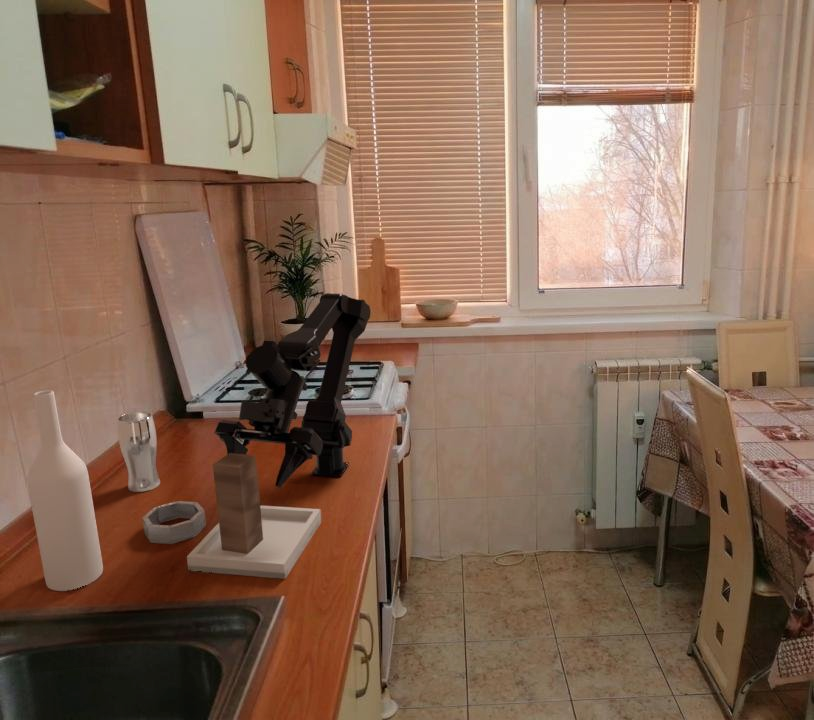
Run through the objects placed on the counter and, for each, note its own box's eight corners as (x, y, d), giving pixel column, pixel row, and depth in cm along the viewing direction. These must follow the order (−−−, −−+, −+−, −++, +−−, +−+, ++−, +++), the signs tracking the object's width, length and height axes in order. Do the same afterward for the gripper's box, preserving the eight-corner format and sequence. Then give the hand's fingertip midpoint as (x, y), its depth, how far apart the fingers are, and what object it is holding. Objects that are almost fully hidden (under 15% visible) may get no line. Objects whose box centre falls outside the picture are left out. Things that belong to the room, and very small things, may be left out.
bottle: (36, 593, 98) (-1, 402, 90) (59, 564, 106) (28, 386, 98) (91, 590, 98) (60, 399, 91) (111, 560, 106) (83, 383, 99)
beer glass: (121, 485, 134) (111, 416, 131) (155, 475, 139) (146, 408, 135) (132, 496, 129) (122, 424, 125) (167, 486, 133) (158, 416, 130)
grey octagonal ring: (165, 514, 121) (163, 500, 120) (213, 518, 119) (211, 503, 119) (135, 541, 112) (133, 525, 111) (186, 545, 110) (184, 529, 110)
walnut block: (238, 535, 111) (230, 452, 107) (263, 539, 109) (255, 455, 106) (222, 549, 107) (212, 464, 103) (247, 554, 105) (239, 467, 101)
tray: (237, 516, 120) (236, 503, 119) (321, 521, 117) (320, 509, 116) (188, 570, 103) (186, 556, 102) (285, 578, 100) (284, 564, 99)
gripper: (214, 376, 114) (181, 459, 106) (310, 383, 108) (282, 472, 100) (244, 405, 123) (215, 483, 116) (334, 413, 117) (309, 496, 110)
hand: (253, 483), depth 110 cm, fingers open, 9 cm apart
